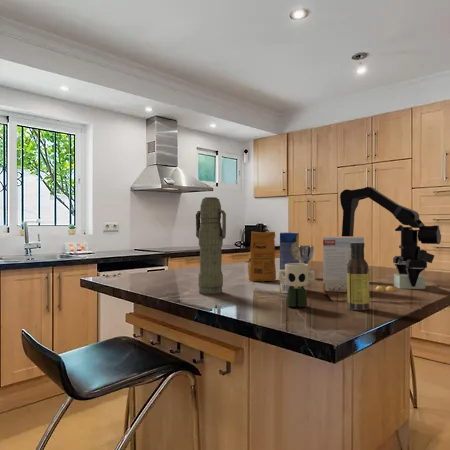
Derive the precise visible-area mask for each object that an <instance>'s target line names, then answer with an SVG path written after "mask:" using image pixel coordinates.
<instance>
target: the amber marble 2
mask: <svg viewBox="0 0 450 450" xmlns="http://www.w3.org/2000/svg"><path fill="white" fill-rule="evenodd" d="M385 291H387V292H395V291H396V290H395V288H394V286H391V285H388V286H386V287H385Z"/></svg>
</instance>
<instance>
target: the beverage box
mask: <svg viewBox="0 0 450 450" xmlns="http://www.w3.org/2000/svg"><path fill="white" fill-rule="evenodd" d="M299 236H300V233H299V232H280V233H279V270H285V264H289V263H300V260H299V246H300V245H299V244H300V237H299ZM282 277H285V273H282ZM289 287H290V286H289V285H287V284H286V283H285V281H284V280H279V294H287V293H288V288H289Z"/></svg>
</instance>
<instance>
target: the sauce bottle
mask: <svg viewBox="0 0 450 450" xmlns="http://www.w3.org/2000/svg"><path fill="white" fill-rule="evenodd" d="M350 247H351V259H350V260H349V262H348V264H347V292H346V293H347V294H346V295H347V296H346V297H347V308H348V309H349V310H351V311H357V312H358V311H368V310H369V309H370V303H371V302H370V269H369V264H368V261H366V259H365V247H366V245H365V242H364V243H363V242H351V243H350Z"/></svg>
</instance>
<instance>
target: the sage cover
mask: <svg viewBox="0 0 450 450" xmlns="http://www.w3.org/2000/svg"><path fill="white" fill-rule="evenodd" d="M393 287H396V288H398V289H409V290H412V289H413V290H425V289H426V276H424V275H421V274H419V276H418V279H417V282H416V285H415V287H413V286H411V283H410V280H409V277H408V274H399V273H393Z"/></svg>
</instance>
